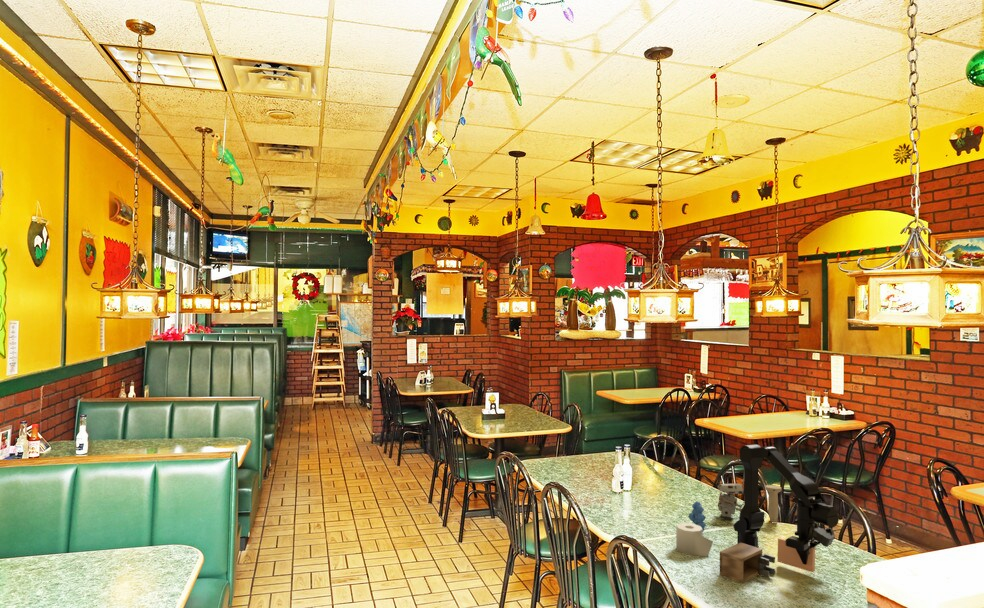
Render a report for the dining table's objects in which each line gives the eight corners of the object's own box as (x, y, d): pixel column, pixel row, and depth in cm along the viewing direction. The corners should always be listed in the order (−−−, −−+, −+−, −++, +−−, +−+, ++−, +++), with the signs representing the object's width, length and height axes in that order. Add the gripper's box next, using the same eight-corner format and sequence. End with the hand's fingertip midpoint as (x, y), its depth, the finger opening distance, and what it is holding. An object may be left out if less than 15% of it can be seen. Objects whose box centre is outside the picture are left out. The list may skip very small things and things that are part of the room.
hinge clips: (758, 574, 207) (758, 556, 207) (765, 570, 210) (764, 553, 210) (768, 577, 204) (768, 560, 204) (774, 574, 207) (774, 556, 207)
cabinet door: (776, 561, 214) (777, 538, 215) (779, 560, 216) (780, 537, 216) (811, 572, 205) (812, 548, 206) (814, 571, 206) (815, 547, 207)
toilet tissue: (712, 557, 221) (712, 534, 221) (675, 552, 226) (675, 529, 226) (713, 549, 230) (713, 526, 230) (677, 543, 235) (677, 521, 235)
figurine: (745, 522, 260) (745, 487, 260) (717, 519, 264) (717, 484, 265) (745, 516, 268) (745, 482, 269) (717, 513, 273) (717, 479, 273)
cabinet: (719, 575, 206) (719, 551, 206) (740, 564, 215) (740, 542, 215) (741, 583, 200) (741, 559, 200) (762, 572, 209) (762, 549, 209)
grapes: (684, 526, 255) (684, 497, 255) (700, 526, 254) (700, 498, 255) (692, 536, 243) (692, 506, 243) (708, 536, 243) (708, 506, 243)
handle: (782, 524, 258) (782, 489, 259) (765, 522, 261) (765, 487, 261) (780, 520, 263) (780, 486, 263) (764, 518, 265) (764, 484, 266)
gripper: (819, 530, 196) (819, 578, 196) (842, 518, 208) (842, 564, 208) (784, 521, 205) (784, 567, 204) (808, 510, 217) (808, 554, 216)
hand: (806, 563), depth 208 cm, fingers closed on cabinet door, 2 cm apart
